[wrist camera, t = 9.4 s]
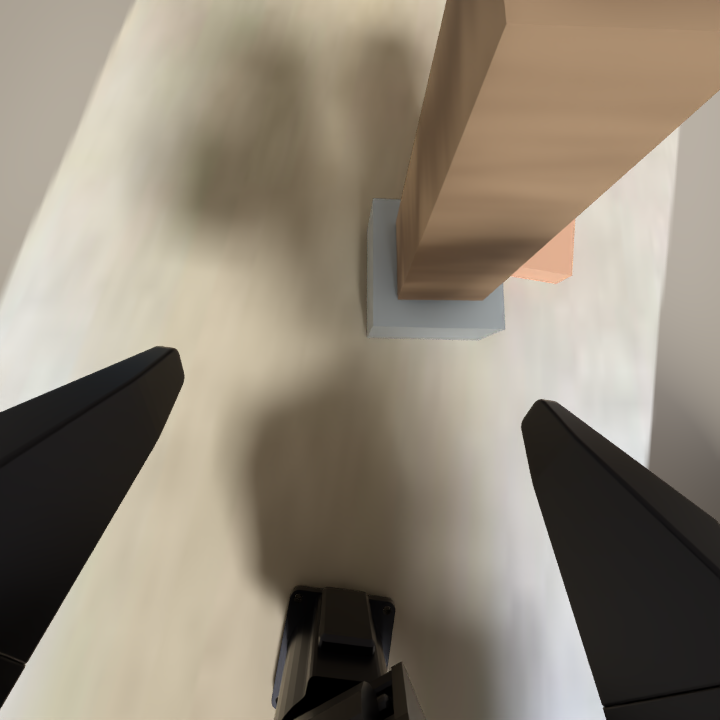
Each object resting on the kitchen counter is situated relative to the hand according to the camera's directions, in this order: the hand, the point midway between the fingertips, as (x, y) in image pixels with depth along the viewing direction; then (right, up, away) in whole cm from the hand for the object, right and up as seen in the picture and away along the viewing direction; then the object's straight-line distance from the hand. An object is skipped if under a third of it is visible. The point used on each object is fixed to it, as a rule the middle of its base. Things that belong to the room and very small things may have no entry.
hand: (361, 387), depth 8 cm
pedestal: (+4, +6, +15) cm, 17 cm away
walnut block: (+5, +7, +11) cm, 14 cm away
